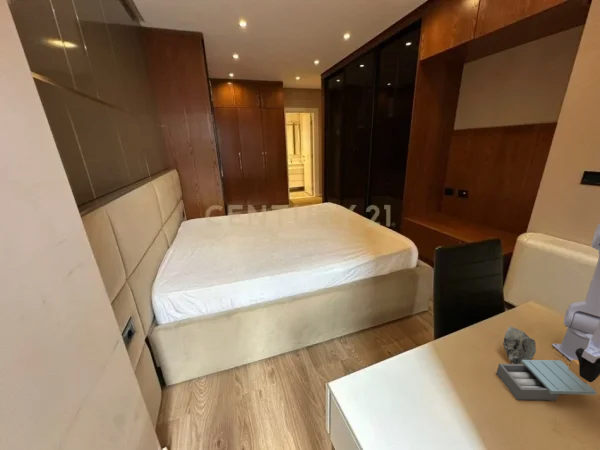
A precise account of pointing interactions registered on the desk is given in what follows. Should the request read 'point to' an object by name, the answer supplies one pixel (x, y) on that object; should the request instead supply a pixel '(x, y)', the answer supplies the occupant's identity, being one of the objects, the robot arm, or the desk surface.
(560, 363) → the lid
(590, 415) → the desk surface
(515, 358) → the stone
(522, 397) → the tub
